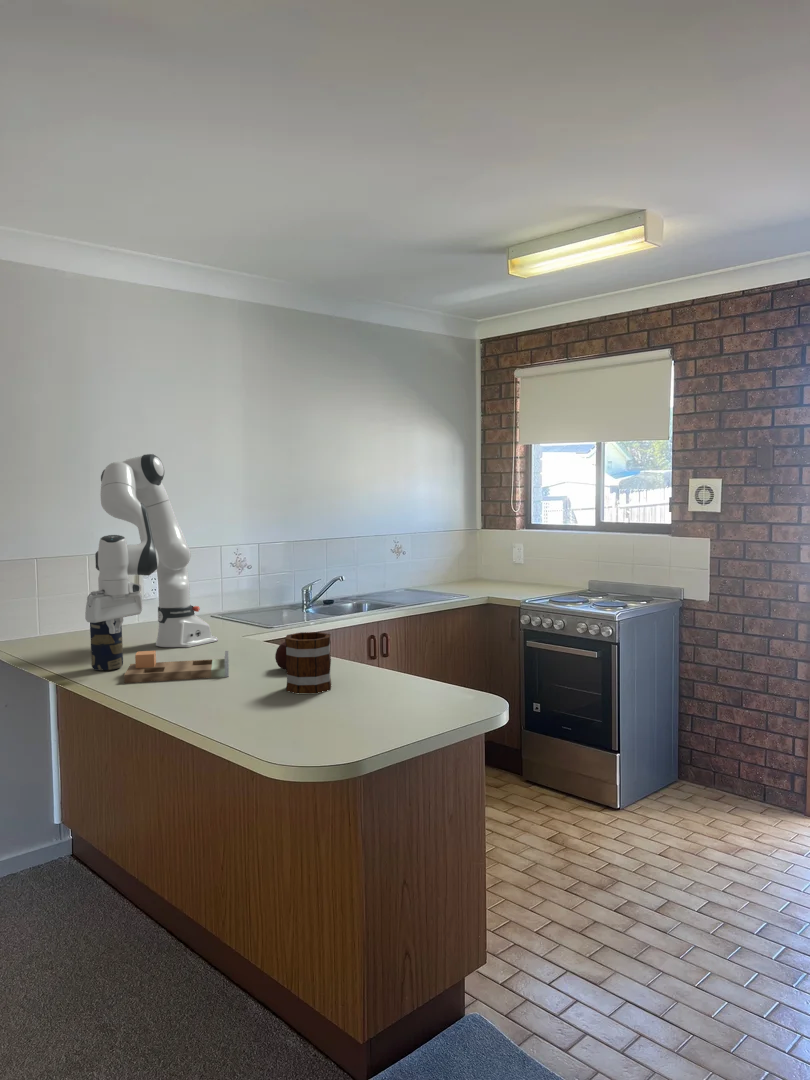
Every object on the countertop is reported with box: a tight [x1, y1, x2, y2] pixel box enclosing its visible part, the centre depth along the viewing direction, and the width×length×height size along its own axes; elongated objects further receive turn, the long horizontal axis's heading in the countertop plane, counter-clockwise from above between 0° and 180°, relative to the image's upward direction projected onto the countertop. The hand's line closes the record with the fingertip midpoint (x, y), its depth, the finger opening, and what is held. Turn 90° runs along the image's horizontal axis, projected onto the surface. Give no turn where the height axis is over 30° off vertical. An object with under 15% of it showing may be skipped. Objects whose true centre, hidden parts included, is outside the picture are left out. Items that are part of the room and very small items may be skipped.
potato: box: [274, 641, 286, 671], centre depth 247 cm, size 9×12×9 cm
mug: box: [284, 631, 332, 694], centre depth 227 cm, size 20×14×15 cm
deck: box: [123, 658, 226, 684], centre depth 243 cm, size 29×15×2 cm, turn 102°
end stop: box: [224, 650, 230, 678], centre depth 247 cm, size 1×15×5 cm, turn 12°
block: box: [134, 650, 157, 668], centre depth 245 cm, size 6×6×4 cm
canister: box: [89, 619, 124, 671], centre depth 252 cm, size 10×10×18 cm
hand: (114, 633), depth 242 cm, fingers closed
